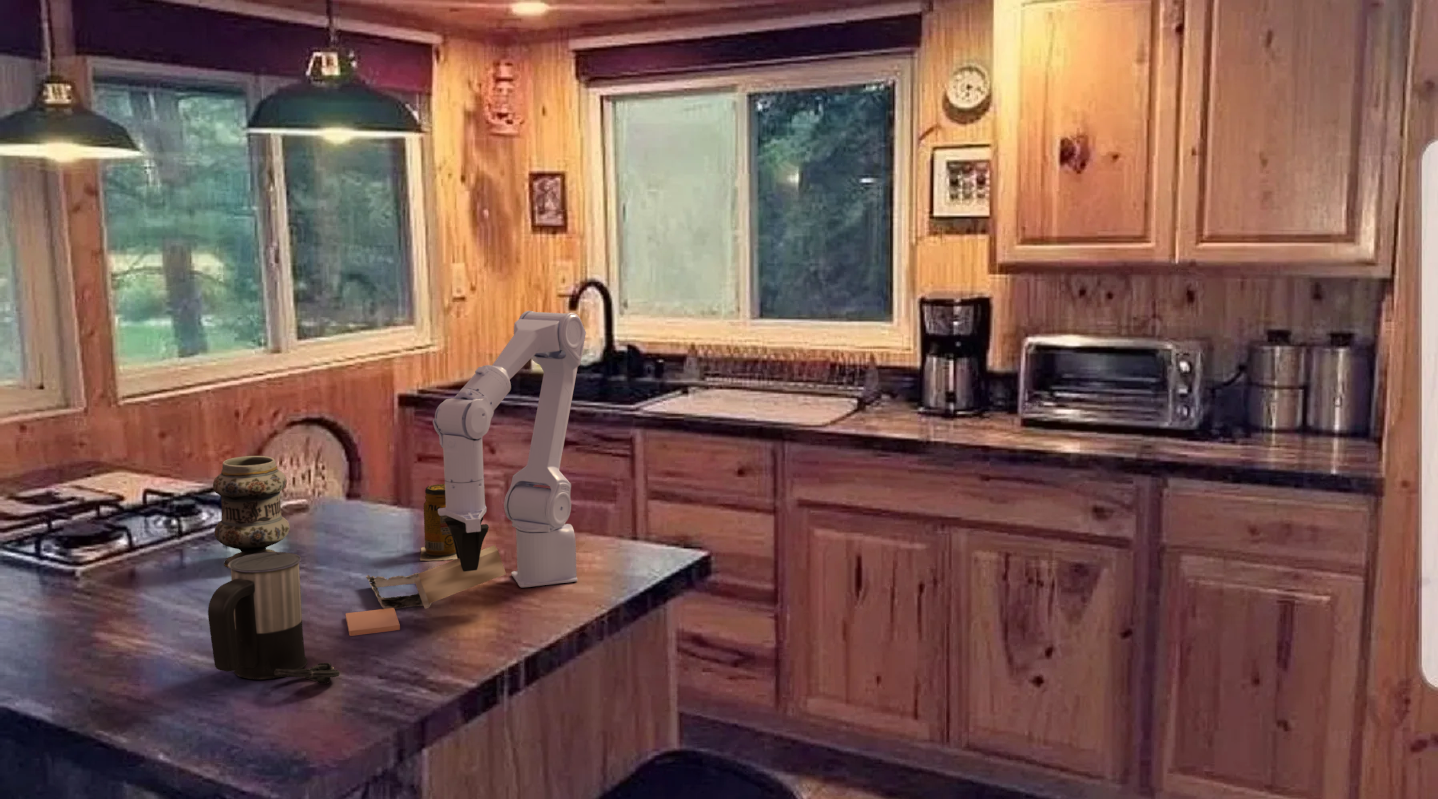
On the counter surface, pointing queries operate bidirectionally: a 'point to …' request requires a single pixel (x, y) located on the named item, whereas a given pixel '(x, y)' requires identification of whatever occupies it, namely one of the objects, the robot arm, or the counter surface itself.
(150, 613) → the counter surface
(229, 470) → the apothecary jar
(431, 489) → the condiment
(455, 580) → the wooden block
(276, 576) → the milk frother
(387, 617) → the tile
